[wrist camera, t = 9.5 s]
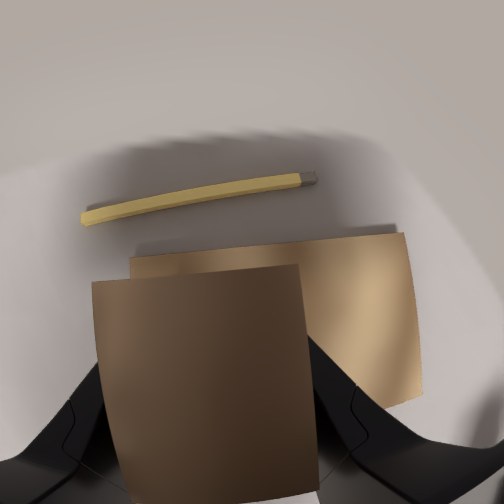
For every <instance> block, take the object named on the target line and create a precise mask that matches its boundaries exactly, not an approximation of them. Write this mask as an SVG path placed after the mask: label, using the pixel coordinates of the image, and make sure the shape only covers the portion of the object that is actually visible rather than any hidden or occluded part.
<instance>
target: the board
mask: <svg viewBox="0 0 504 504" xmlns="http://www.w3.org/2000/svg"><path fill="white" fill-rule="evenodd" d="M288 264H298V265H299V273H300V280H301V287H302V295H303V303H304V311H305V319H306V328H307V334H308V335H309V336H310V337H311V338H312V339H313V340H314V341H315V342H316V344H317V345H318V346H319V347H320V348H321V349H322V350H323V351H324V352H325V353H326V354H327V355H328V356H329V357H330V358H331V359H332V360H333V361H334V362H335V363H336V364H337V365H338V366H339V367H340V368H341V369H342V370H343V371H344V372H345V373H346V374H347V375H348V376H349V377H350V378H351V379H352V380H353V381H354V382H355V383H356V386H357V385H358V386H359V387H360V388H361V389H362V390H363V391H364V392H365V393H366V394H367V395H368V396H369V397H370V398H371V399H373V400H374V401H375V402H376V403H377V404H378V405H379V406H381V407H382V408H383V409H386V408H389V407H392V406H394V405H397V404H400V403H403V402H405V401H408V400H411V399H413V398H416V397H418V396H421V395H422V370H421V351H420V337H419V326H418V317H417V308H416V300H415V293H414V286H413V279H412V273H411V267H410V262H409V256H408V251H407V246H406V241H405V236H404V232H402V233H390V234H378V235H367V236H356V237H344V238H333V239H322V240H311V241H300V242H289V243H278V244H267V245H257V246H246V247H235V248H225V249H214V250H204V251H193V252H183V253H173V254H163V255H153V256H142V257H132V258H130V279H136V278H148V277H160V276H172V275H183V274H195V273H206V272H217V271H227V270H238V269H248V268H258V267H268V266H278V265H288Z"/></svg>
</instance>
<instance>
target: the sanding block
mask: <svg viewBox="0 0 504 504" xmlns="http://www.w3.org/2000/svg"><path fill="white" fill-rule="evenodd" d="M92 303H93V318H94V330H95V341H96V350H97V358H98V366H99V373H100V379H101V385H102V391H103V397H104V402H105V407H106V412H107V417H108V422H109V426H110V431H111V435H112V439H113V443H114V447H115V450H116V454H117V458H118V461H119V465H120V468H121V471H122V475H123V478H124V481H125V484H126V487H127V490H128V493H129V496H130V499H131V501H132V503H136V504H241V503H251V502H259V501H266V500H273V499H279V498H284V497H290V496H295V495H300V494H305V493H309V492H313V491H318V490H320V483H319V464H318V447H317V433H316V420H315V407H314V396H313V385H312V374H311V364H310V355H309V345H308V336H307V328H306V319H305V311H304V303H303V295H302V287H301V280H300V273H299V265H298V264H288V265H278V266H268V267H258V268H248V269H238V270H227V271H217V272H206V273H195V274H183V275H172V276H160V277H148V278H136V279H124V280H111V281H98V282H92Z"/></svg>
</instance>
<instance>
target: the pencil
mask: <svg viewBox="0 0 504 504" xmlns="http://www.w3.org/2000/svg"><path fill="white" fill-rule="evenodd" d="M316 181H317V177H316V174H315V172H308V173H300V174H299V173H291V174H283V175H275V176H268V177H260V178H253V179H247V180H240V181H234V182H227V183H221V184H215V185H209V186H204V187H198V188H192V189H187V190H182V191H176V192H171V193H166V194H161V195H156V196H152V197H147V198H142V199H138V200H133V201H129V202H124V203H120V204H115V205H111V206H107V207H103V208H99V209H95V210H91V211H87V212H83V213H81V224H82V225H84V226H89V225H93V224H97V223H101V222H106V221H110V220H114V219H119V218H123V217H128V216H132V215H137V214H142V213H146V212H151V211H156V210H161V209H166V208H171V207H176V206H182V205H187V204H192V203H198V202H203V201H209V200H215V199H221V198H226V197H232V196H239V195H245V194H251V193H258V192H264V191H271V190H278V189H285V188H293V187H299V186H302V185H310V184H315V183H316Z"/></svg>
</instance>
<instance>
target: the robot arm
mask: <svg viewBox="0 0 504 504" xmlns="http://www.w3.org/2000/svg"><path fill="white" fill-rule="evenodd" d="M307 336H308V345H309V355H310V364H311V374H312V385H313V396H314V407H315V420H316V433H317V447H318V464H319V483H320V490H318V491H316V493H317V496H318V499H319V503H320V504H504V439H503V440H502V441H500V442H499V443H498V444H496V445H495V446H493V447H490V448H484V449H478V448H470V447H464V446H457V445H452V444H446V443H441V442H436V441H431V440H428V439H425V438H423V437H421V436H419V435H417V434H416V433H414V432H413V431H412V430H410V429H409V428H408V427H406V426H405V425H404V424H402V423H401V422H400V421H398V420H397V419H396V418H394V417H393V416H392V415H391V414H389V413H388V412H387V411H385V410H384V409H383V408H382V407H381V406H379V405H378V404H377V403H376V402H375V401H374V400H373V399H371V398H370V397H369V396H368V395H367V394H366V393H365V392H364V391H363V390H362V389H361V388H360V387H359V386H358V385H357V386H356V383H355V382H354V381H353V380H352V379H351V378H350V377H349V376H348V375H347V374H346V373H345V372H344V371H343V370H342V369H341V368H340V367H339V366H338V365H337V364H336V363H335V362H334V361H333V360H332V359H331V358H330V357H329V356H328V355H327V354H326V353H325V352H324V351H323V350H322V349H321V348H320V347H319V346H318V345H317V344H316V342H315V341H314V340H313V339H312V338H311V337H310V336H309V335H308V334H307ZM0 504H136V503H132V501H131V499H130V496H129V493H128V490H127V487H126V484H125V481H124V478H123V475H122V471H121V468H120V465H119V461H118V458H117V454H116V450H115V447H114V443H113V439H112V435H111V431H110V426H109V422H108V417H107V412H106V407H105V402H104V397H103V391H102V385H101V379H100V373H99V366H98V362H97V363H96V364H95V365H94V367H93V368H92V369H91V370H90V372H89V373H88V374H87V376H86V377H85V378H84V379H83V381H82V382H81V383H80V384H79V386H78V387H77V388H76V390H75V391H74V392H73V394H72V395H71V396H70V397H69V399H68V400H67V401H66V403H65V404H64V405H63V407H62V408H61V409H60V410H59V412H58V413H57V414H56V415H55V417H54V418H53V419H52V420H51V421H50V422H49V423H48V425H47V426H46V427H45V428H44V429H43V430H42V431H41V432H40V433H39V434H38V436H37V437H36V438H35V439H34V440H33V441H32V442H31V443H30V444H29V445H28V446H27V448H26V449H25V450H24V451H22V452H21V453H20V454H19V455H17V456H15V457H13V458H11V459H7V460H4V461H0Z"/></svg>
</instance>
